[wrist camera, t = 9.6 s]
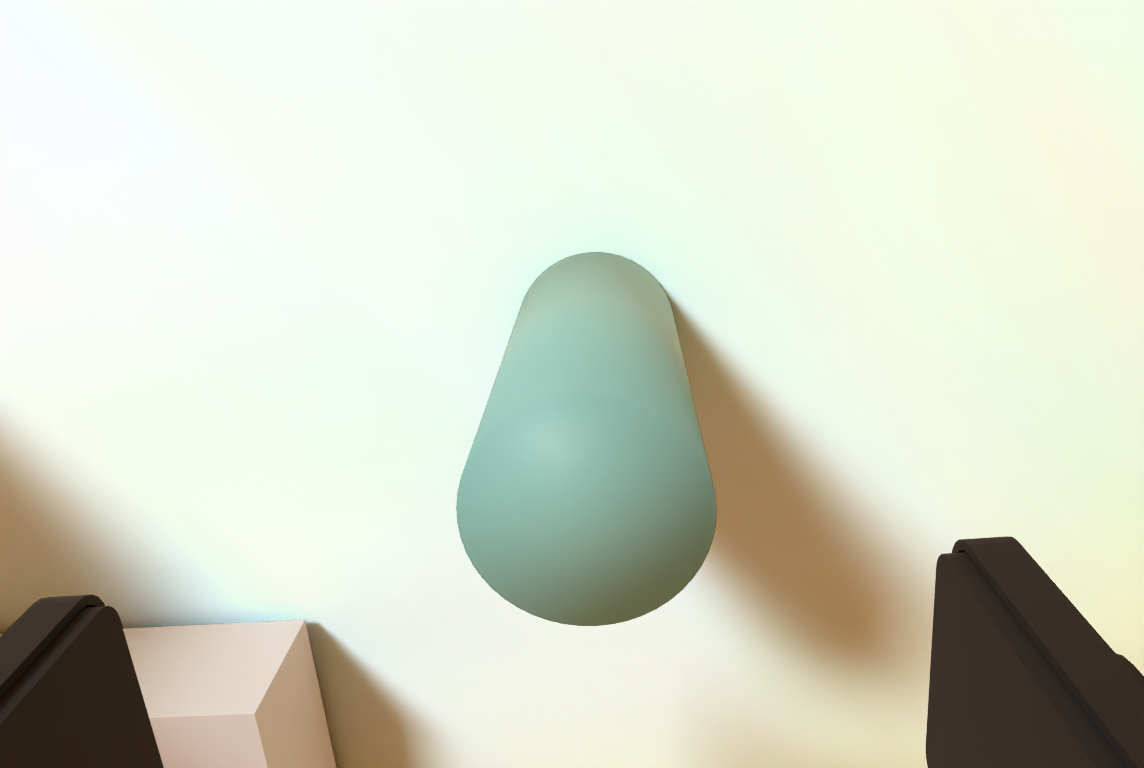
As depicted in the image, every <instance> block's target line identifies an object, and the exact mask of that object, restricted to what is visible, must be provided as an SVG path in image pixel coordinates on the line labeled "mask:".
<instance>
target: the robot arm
mask: <svg viewBox="0 0 1144 768" xmlns="http://www.w3.org/2000/svg"><path fill="white" fill-rule="evenodd" d="M926 759H927V765H928V768H1144V676H1143V675H1142V674H1141V673H1140V672H1139V671H1138V669H1137V668H1136V667H1135V666H1134V665H1133V664H1132V663H1131V662H1129V661H1128V660H1127V659H1126V658H1125V657H1124V656H1122V655H1119V654H1116V653H1115V652H1114V651H1113V650H1112V649H1111V648H1110V647H1109V645H1108V644H1107V643H1106V642H1105V641H1104V640H1103V639H1102V637H1101V636H1100V635H1099V634H1098V633H1097V632H1096V630H1095V629H1094V628H1093V627H1092V626H1091V625H1090V624H1089V622H1088V621H1087V620H1086V619H1085V618H1084V617H1083V616H1082V614H1081V613H1080V612H1079V611H1078V610H1077V609H1076V607H1075V606H1074V605H1073V604H1072V603H1071V602H1070V601H1069V599H1068V598H1067V597H1066V596H1065V595H1064V594H1063V593H1062V591H1061V590H1060V589H1059V588H1058V587H1057V586H1056V584H1055V583H1054V582H1053V581H1052V580H1051V579H1050V578H1049V576H1048V575H1047V574H1046V573H1045V572H1044V571H1043V570H1042V568H1041V567H1040V566H1039V565H1038V564H1037V563H1036V561H1035V560H1034V559H1033V558H1032V557H1031V556H1030V555H1029V553H1028V552H1027V551H1026V550H1025V549H1024V548H1023V547H1022V545H1021V544H1020V543H1019V542H1018V541H1017V540H1016V539H1014V538H1013V537H994V538H978V539H962V540H958V541H957V542H956V543H955V545H954V547H953V550H952V553H949V554H941V555H940V556H939V558H938V561H937V567H936V583H935V599H934V616H933V633H932V650H931V667H930V684H929V701H928V718H927V735H926ZM0 768H164V767H163V763H162V760H161V756H160V753H159V750H158V746H157V743H156V740H155V736H154V733H153V729H152V726H151V723H150V719H149V716H148V712H147V709H146V706H145V702H144V699H143V695H142V692H141V689H140V685H139V682H138V678H137V675H136V672H135V668H134V665H133V661H132V658H131V655H130V651H129V648H128V644H127V641H126V638H125V634H124V631H123V627H122V624H121V621H120V618H119V615H118V613H117V611H116V610H115V609H114V608H112V607H110V606H105V605H104V603H103V602H102V600H101V599H100V598H99V597H97V596H94V595H78V596H63V597H47V598H42V599H39V600H38V601H37V602H35V603H34V604H33V605H32V606H31V607H30V608H29V609H28V610H27V611H26V612H25V613H24V614H23V615H22V616H21V617H20V618H19V619H18V620H17V621H16V622H15V623H14V624H13V625H12V626H11V627H10V628H9V629H8V630H7V631H6V632H5V633H4V634H3V635H2V636H1V637H0Z"/></svg>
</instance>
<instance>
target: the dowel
mask: <svg viewBox="0 0 1144 768" xmlns="http://www.w3.org/2000/svg"><path fill="white" fill-rule="evenodd" d="M456 509H457V523H458V528H459V532H460V537H461V540H462V542H463V545H464V548H465V551H466V553H467V555H468V557H469V558H470V560H471V562H472V564H473V566H474V567H475V568H476V570H477V571H478V573H479V574H480V575H481V577H482V578H483V579H484V580H485V581H486V582H487V583H488V584H489V586H490V587H491V588H492V589H493V590H495V591H496V592H497V593H498V594H499V595H501V596H502V597H503V598H504V599H506V600H507V601H509V602H510V603H512V604H513V605H515V606H516V607H518V608H520V609H522V610H524V611H526V612H528V613H530V614H532V615H535V616H538V617H540V618H543V619H546V620H549V621H554V622H558V623H562V624H569V625H578V626H599V625H608V624H615V623H619V622H624V621H628V620H631V619H634V618H637V617H640V616H642V615H645V614H647V613H649V612H651V611H653V610H655V609H657V608H659V607H660V606H662V605H663V604H665V603H666V602H668V601H669V600H671V599H672V598H673V597H674V596H676V595H677V594H678V593H679V592H680V591H682V590H683V589H684V587H685V586H686V585H687V584H688V583H689V582H690V581H691V580H692V579H693V577H694V576H695V575H696V573H697V572H698V570H699V569H700V567H701V566H702V564H703V562H704V560H705V558H706V556H707V554H708V552H709V549H710V546H711V543H712V540H713V537H714V531H715V526H716V511H717V507H716V498H715V491H714V487H713V482H712V478H711V474H710V470H709V465H708V461H707V457H706V452H705V448H704V444H703V440H702V435H701V431H700V427H699V422H698V418H697V414H696V410H695V405H694V401H693V397H692V392H691V388H690V384H689V380H688V375H687V371H686V367H685V362H684V358H683V354H682V350H681V345H680V341H679V337H678V332H677V328H676V324H675V320H674V315H673V311H672V308H671V304H670V302H669V299H668V297H667V295H666V293H665V291H664V289H663V288H662V286H661V285H660V284H659V282H658V281H657V280H656V278H655V277H654V276H653V275H651V274H650V273H649V272H648V271H647V270H646V269H644V268H643V267H642V266H640V265H639V264H637V263H635V262H633V261H632V260H630V259H627V258H625V257H622V256H619V255H615V254H610V253H602V252H589V253H582V254H577V255H574V256H570V257H567V258H565V259H563V260H560V261H559V262H557V263H555V264H553V265H552V266H550V267H549V268H548V269H546V270H545V271H544V272H543V273H542V274H541V275H540V276H539V277H538V278H537V279H536V280H535V281H534V283H533V284H532V285H531V287H530V288H529V290H528V292H527V293H526V295H525V297H524V300H523V303H522V305H521V308H520V311H519V314H518V317H517V319H516V322H515V325H514V328H513V331H512V334H511V336H510V339H509V342H508V345H507V348H506V351H505V354H504V356H503V359H502V362H501V365H500V368H499V371H498V374H497V376H496V379H495V382H494V385H493V388H492V391H491V393H490V396H489V399H488V402H487V405H486V408H485V411H484V413H483V416H482V419H481V422H480V425H479V428H478V431H477V433H476V436H475V439H474V442H473V445H472V448H471V450H470V453H469V456H468V459H467V462H466V465H465V468H464V470H463V473H462V476H461V480H460V484H459V489H458V494H457V507H456Z"/></svg>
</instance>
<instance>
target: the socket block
mask: <svg viewBox="0 0 1144 768" xmlns="http://www.w3.org/2000/svg"><path fill="white" fill-rule="evenodd" d="M123 631H124V634H125V638H126V641H127V644H128V648H129V651H130V655H131V658H132V661H133V665H134V668H135V672H136V675H137V678H138V682H139V685H140V689H141V692H142V695H143V699H144V702H145V706H146V709H147V712H148V716H149V719H150V723H151V726H152V729H153V733H154V736H155V740H156V743H157V746H158V750H159V753H160V756H161V760H162V763H163V767H164V768H336V764H335V759H334V754H333V749H332V745H331V740H330V735H329V730H328V726H327V721H326V716H325V712H324V707H323V702H322V697H321V693H320V688H319V683H318V679H317V674H316V669H315V664H314V660H313V655H312V650H311V646H310V641H309V636H308V631H307V627H306V622H305V620H288V621H267V622H247V623H226V624H206V625H185V626H165V627H144V628H124V629H123ZM2 635H3V634H1V635H0V637H1V636H2Z"/></svg>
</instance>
